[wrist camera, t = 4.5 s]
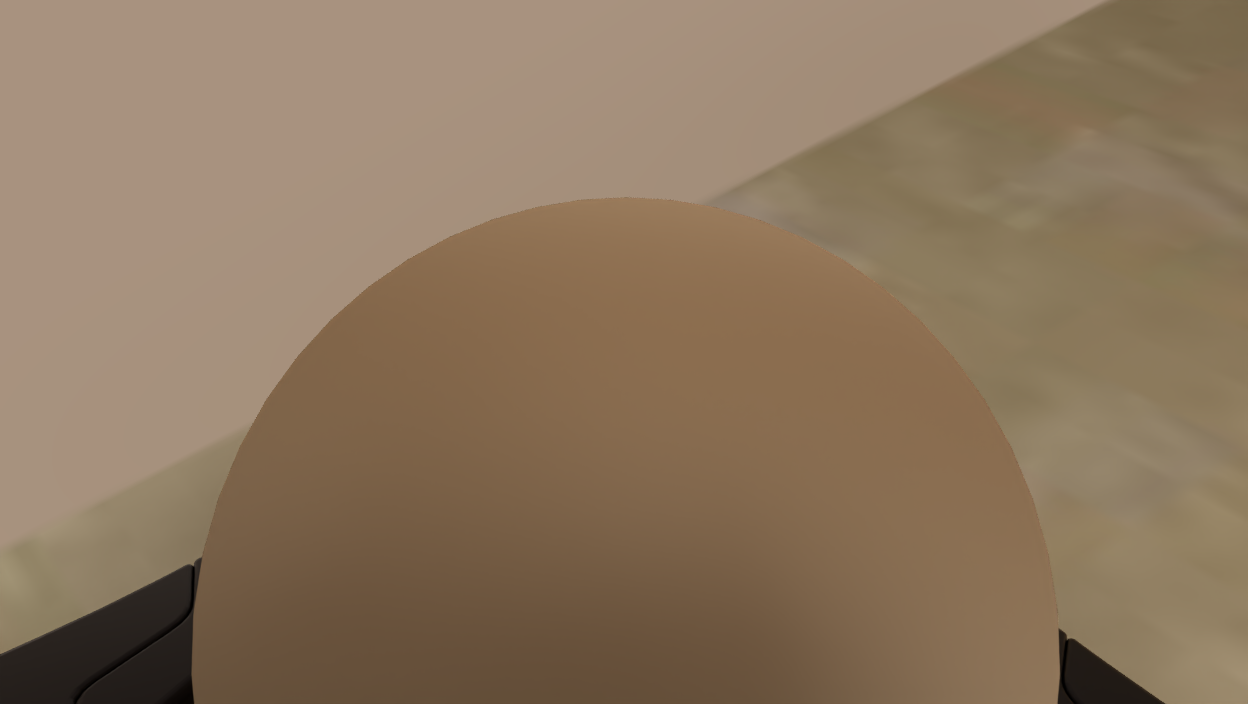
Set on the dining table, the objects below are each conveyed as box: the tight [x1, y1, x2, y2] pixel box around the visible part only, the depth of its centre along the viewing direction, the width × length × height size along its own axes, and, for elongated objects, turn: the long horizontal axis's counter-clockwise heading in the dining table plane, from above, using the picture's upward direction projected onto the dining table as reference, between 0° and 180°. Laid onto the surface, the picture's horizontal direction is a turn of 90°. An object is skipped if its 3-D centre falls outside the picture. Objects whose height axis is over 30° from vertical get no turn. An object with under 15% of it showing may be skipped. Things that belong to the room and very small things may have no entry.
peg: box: [192, 197, 1060, 704], centre depth 9 cm, size 4×4×12 cm
